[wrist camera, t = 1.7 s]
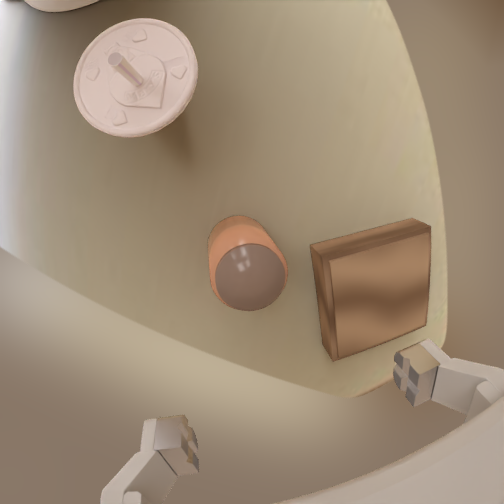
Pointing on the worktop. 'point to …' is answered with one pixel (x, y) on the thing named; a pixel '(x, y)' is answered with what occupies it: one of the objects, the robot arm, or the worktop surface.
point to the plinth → (372, 286)
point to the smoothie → (135, 77)
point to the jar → (245, 264)
